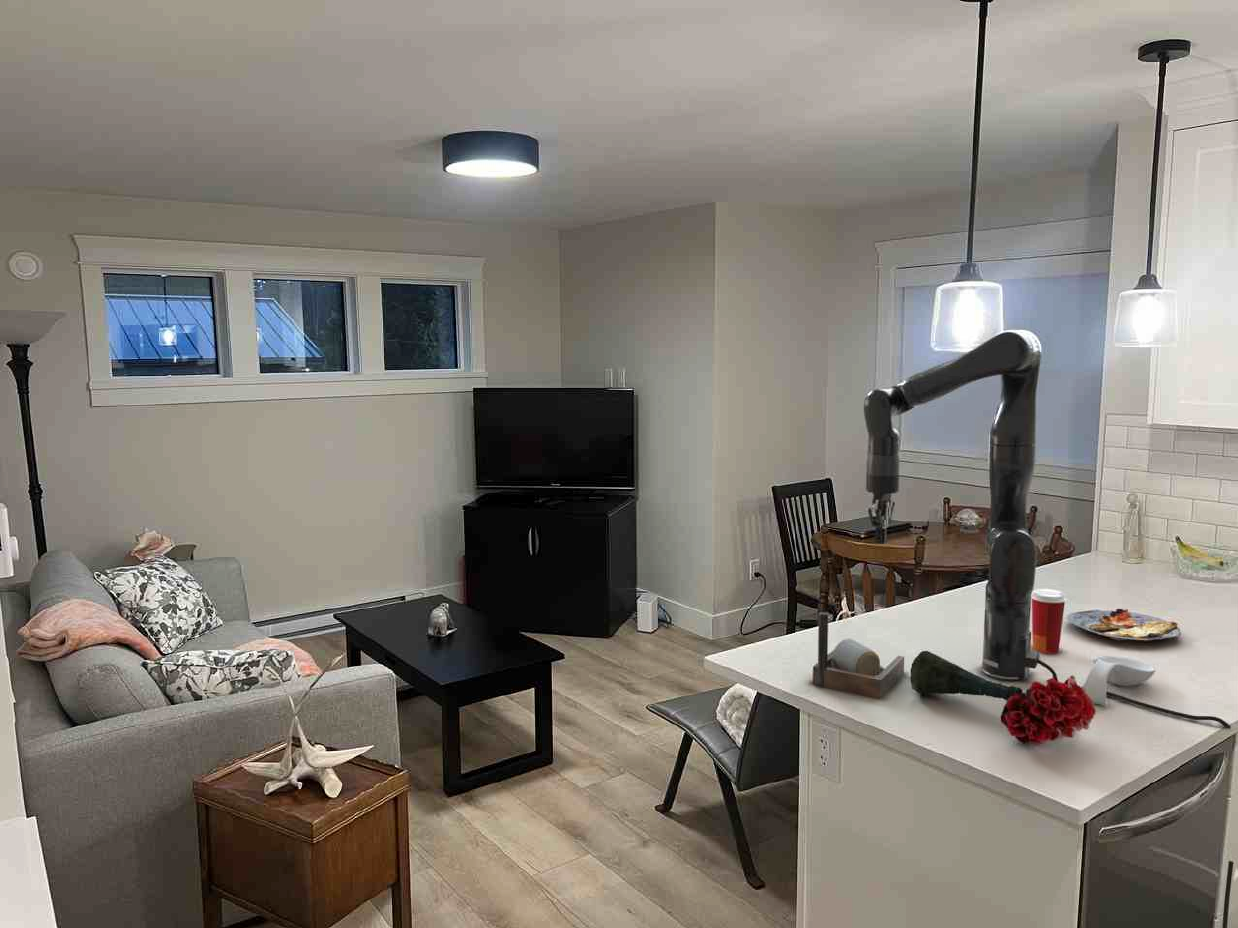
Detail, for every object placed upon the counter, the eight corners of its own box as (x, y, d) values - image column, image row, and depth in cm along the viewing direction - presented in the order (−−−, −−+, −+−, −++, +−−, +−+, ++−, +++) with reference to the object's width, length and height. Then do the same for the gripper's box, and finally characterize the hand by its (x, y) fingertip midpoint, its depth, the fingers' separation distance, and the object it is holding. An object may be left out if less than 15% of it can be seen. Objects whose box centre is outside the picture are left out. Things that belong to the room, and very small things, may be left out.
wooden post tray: (903, 673, 200) (906, 604, 198) (879, 699, 186) (881, 624, 184) (839, 661, 208) (841, 594, 206) (812, 684, 195) (813, 613, 192)
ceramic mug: (856, 686, 193) (858, 651, 192) (830, 673, 200) (832, 640, 199) (893, 677, 198) (894, 644, 197) (866, 666, 205) (868, 633, 204)
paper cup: (1063, 646, 216) (1066, 590, 214) (1063, 657, 209) (1067, 598, 207) (1027, 642, 219) (1030, 586, 217) (1026, 652, 212) (1029, 595, 210)
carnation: (918, 729, 190) (1093, 780, 163) (879, 691, 179) (1058, 739, 153) (943, 662, 195) (1116, 701, 168) (906, 621, 185) (1084, 656, 158)
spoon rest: (1102, 666, 203) (1104, 636, 202) (1161, 680, 194) (1163, 648, 193) (1063, 696, 186) (1065, 663, 185) (1126, 713, 178) (1128, 678, 177)
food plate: (1122, 613, 241) (1123, 600, 240) (1202, 640, 219) (1203, 626, 218) (1047, 623, 233) (1047, 610, 233) (1122, 652, 211) (1123, 638, 211)
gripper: (889, 477, 207) (887, 550, 209) (906, 469, 218) (904, 539, 220) (857, 474, 211) (856, 546, 214) (876, 467, 222) (874, 536, 224)
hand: (880, 543), depth 217 cm, fingers closed
